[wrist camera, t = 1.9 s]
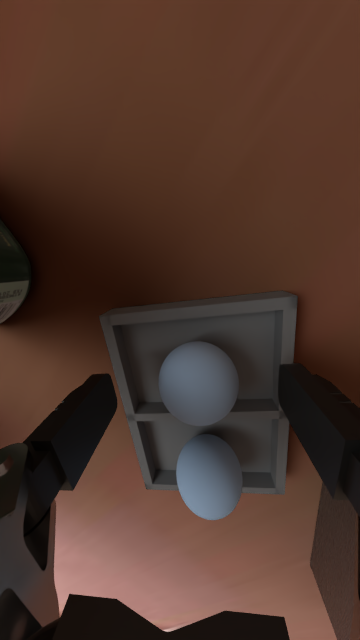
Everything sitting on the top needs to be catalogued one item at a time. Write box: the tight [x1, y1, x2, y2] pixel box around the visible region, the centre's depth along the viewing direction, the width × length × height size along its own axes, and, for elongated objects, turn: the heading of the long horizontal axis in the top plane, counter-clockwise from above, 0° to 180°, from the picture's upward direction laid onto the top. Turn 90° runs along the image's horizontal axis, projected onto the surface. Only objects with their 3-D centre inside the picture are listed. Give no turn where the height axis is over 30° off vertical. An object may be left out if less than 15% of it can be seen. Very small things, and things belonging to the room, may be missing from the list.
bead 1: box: [158, 341, 239, 426], centre depth 9 cm, size 4×4×4 cm
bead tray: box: [99, 291, 298, 494], centre depth 12 cm, size 10×14×2 cm
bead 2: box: [176, 434, 243, 520], centre depth 11 cm, size 4×4×4 cm
